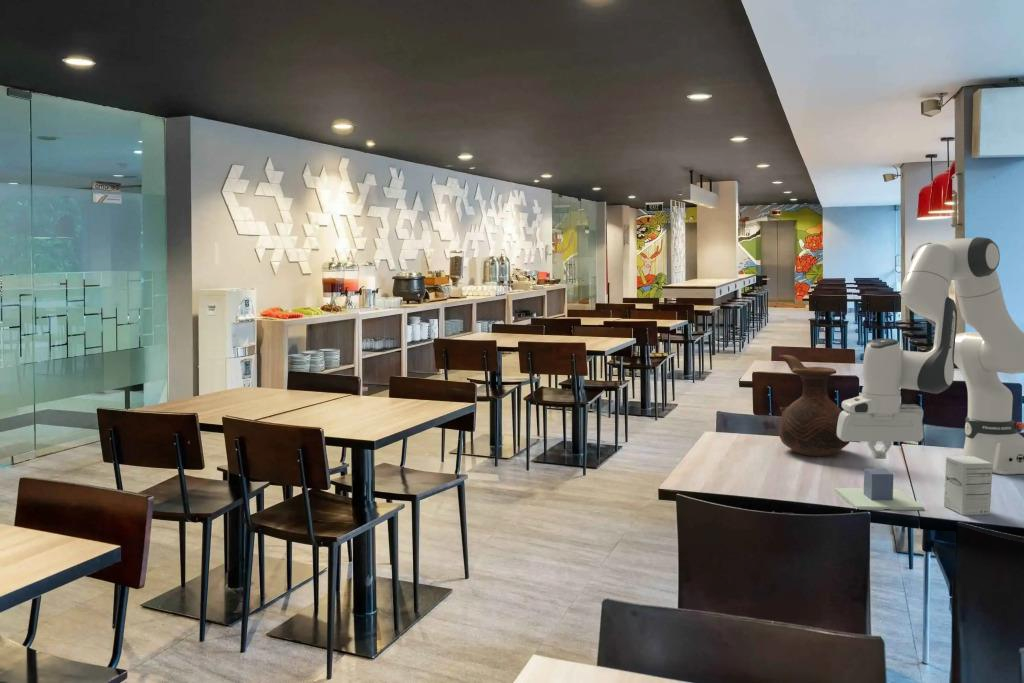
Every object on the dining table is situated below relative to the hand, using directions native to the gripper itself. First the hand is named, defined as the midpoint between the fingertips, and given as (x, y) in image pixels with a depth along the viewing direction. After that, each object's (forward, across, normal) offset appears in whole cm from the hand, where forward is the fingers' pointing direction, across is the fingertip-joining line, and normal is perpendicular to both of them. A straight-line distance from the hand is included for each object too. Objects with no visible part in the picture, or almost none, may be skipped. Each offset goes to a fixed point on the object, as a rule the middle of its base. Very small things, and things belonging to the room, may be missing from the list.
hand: (878, 458), depth 205 cm
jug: (+11, 0, -52) cm, 53 cm away
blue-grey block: (+10, 0, 0) cm, 10 cm away
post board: (+11, 0, 0) cm, 11 cm away
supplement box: (+11, -18, +8) cm, 23 cm away
